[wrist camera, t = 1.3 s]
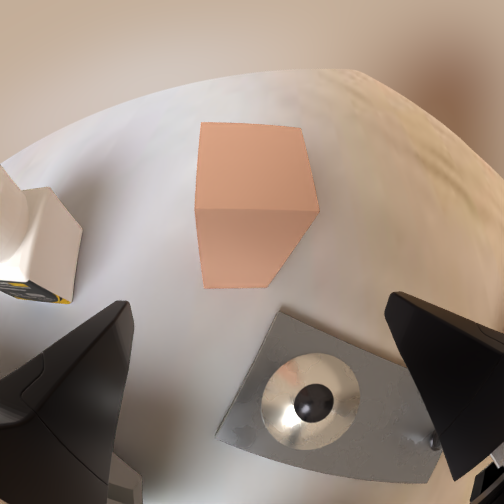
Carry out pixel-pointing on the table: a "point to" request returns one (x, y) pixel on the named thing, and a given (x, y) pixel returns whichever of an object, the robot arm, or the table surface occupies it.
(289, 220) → the post
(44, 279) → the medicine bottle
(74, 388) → the robot arm
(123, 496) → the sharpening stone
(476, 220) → the table surface
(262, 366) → the drilled plate
